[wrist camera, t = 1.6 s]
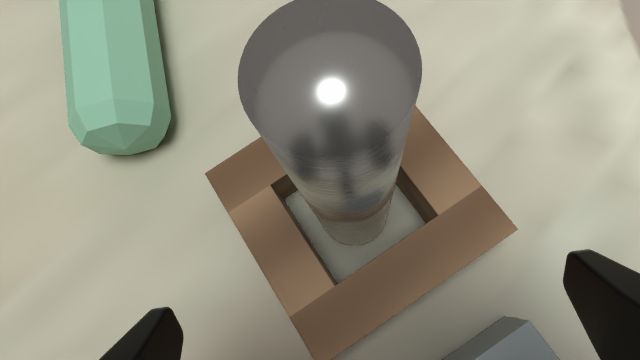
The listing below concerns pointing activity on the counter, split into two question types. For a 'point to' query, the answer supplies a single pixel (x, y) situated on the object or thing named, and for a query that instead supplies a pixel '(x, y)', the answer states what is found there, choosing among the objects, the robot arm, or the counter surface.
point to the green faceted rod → (114, 75)
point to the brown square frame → (384, 271)
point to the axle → (335, 105)
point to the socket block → (506, 343)
